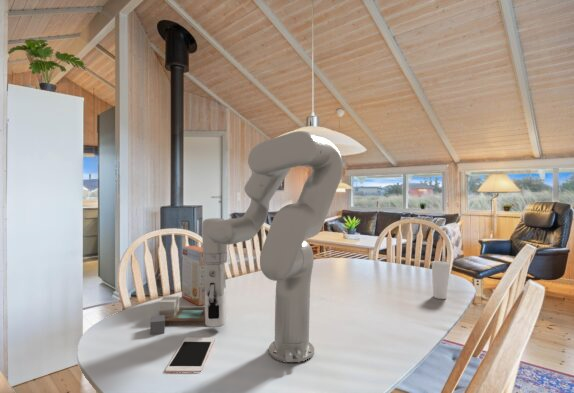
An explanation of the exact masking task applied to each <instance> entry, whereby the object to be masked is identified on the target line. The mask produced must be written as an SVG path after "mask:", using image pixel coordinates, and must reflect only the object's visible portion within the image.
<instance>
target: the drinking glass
mask: <svg viewBox="0 0 574 393" xmlns="http://www.w3.org/2000/svg"><path fill="white" fill-rule="evenodd" d="M449 278H450V262H448V261H443V260H434V261H433V260H432V264H431V280H432V297H433V298H435V299H439V300H446V299H447V298H448V297H447V296H448V295H447V294H448V288H449V287H448V286H449V281H450V280H449Z"/></svg>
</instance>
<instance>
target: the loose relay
mask: <svg viewBox="0 0 574 393" xmlns="http://www.w3.org/2000/svg"><path fill="white" fill-rule="evenodd" d="M149 322H150V323H149V324H150V325H149V326H150V327H149V328H150V333H149V335H150V336H151V335H152V336H153V335H161V334H165V330H166V329H165V328H166V325H165V315H151V318H150V321H149Z"/></svg>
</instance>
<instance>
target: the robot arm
mask: <svg viewBox="0 0 574 393" xmlns="http://www.w3.org/2000/svg"><path fill="white" fill-rule="evenodd" d="M247 164H248V168H250V170H251V171H252V173H251V175H250V177H249V178H248V180H247V182H246V183H245V185H244V188H243V189H244V193H245V194H246V195H247V196H248V197H249V199H250V203H249V206H248V207H247V210H246V211H245V213H244V214H243V216H242V217H235V218H228V219H225V218H219V217H218V218H217V217H216V218H215V217H213V218H205V219H204V220H203V221H202V225H201V226H202V231H201V232H202V235H201V236H202V248H203V264H206V295H207V296H208V297H209V302H208V318H209V319H218V318H219V305H218V295H220V296H222V295H223V293H224V288H225V290H226V287H227V286H226V285H227V283H226V282H227V281H226V266H225V264H227V262H228V246H229V245H234V244H238V243H243V242H248V241H250V240H252V239H253V238H255V236H256V235H257V234H258V233H259V231H260V229H261V228H262V226H264V224H265V222H266V220H267V218H268V214H269V210H270V202H271V200H272V198H273V196H274V195H275V193H276V192H277V190H278V189H279V187H280V186H281V184H282V183H283V181H284V180H285V178H287V175H288V174H289V172H290V170H291V169H292V168H296V167H306V168H311V172H310V174H309V176H308V177H307V179H306V181H305V182H304V184H303V186H302V190H301V192H300V194H299V198H298V199H297V201H296V203H295V202H294V203H289V204H287V205H284V206H282V207H281V208H280V209H279V210H278V211H277V213H275V215H274V217H273V219H272V222H271V224H270V226H269V229H268V233H267V235H266V238H265V240H264V242H263V246H262V249H261V252H260V255H259V256H260V257H259V267H260V270H261V272H262V274H263V275H264V276H265V277H266V278H267V279H268V280H271V281H274V282H276V283H275V299H274V300H275V301H274V302H275V303H274V304H275V305H274V310H275V311H274V341H272V342H271V343H270V344H269V346H268V354H269V355H270V356H271V357H272V358H273V359H275V360H276V359H277V361H279V360H280V361H279V362H282V361H285V362H284V363H287V362H298V363H301V362H300V361H303V362H306V361H308V360H310V359H311V358H312V357H314V355H315V347H314V345H313V344H312V343H311V342H310V302H311V301H310V299H311V282H312V281H311V280H312V273H313V267H314V259H315V258H314V257H315V256H314V251H313V249H312V246H311V245H310V244H309V242H307V241H306V240H308V239H311V238H314V237H315V236H317V235H319V234H320V232H321V231H322V229H323V227H324V224H325V221H326V218H327V217H328V213H329V211H330V208H331V206H332V204H333V200H334V197H335V195H336V193H337V190H338V187H339V186H340V183H341V179H342V178H343V172H344V160H343V157H342V155H341V153H340V150H339V149H338V148H337V146H336V145H335V144H334V143H333V142H332V141H331V140H329V139H328V138H325V137H323V136H320V135H318V134H314V133H311V132H308V131H302V130H301V131H298V130H297V131H293V132H290V133H286V134H283V135H280V136H277V137H274V138H270V139H267V140H264V141H261V142H259V143H257V144H255V145H254V146H253V148H251V150H250V152H249V153H248V157H247ZM208 292H209V293H208ZM214 293H217V295H214ZM214 297H216V300H215V299H214ZM309 358H310V359H309ZM307 359H308V360H307ZM305 360H306V361H305Z"/></svg>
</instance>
